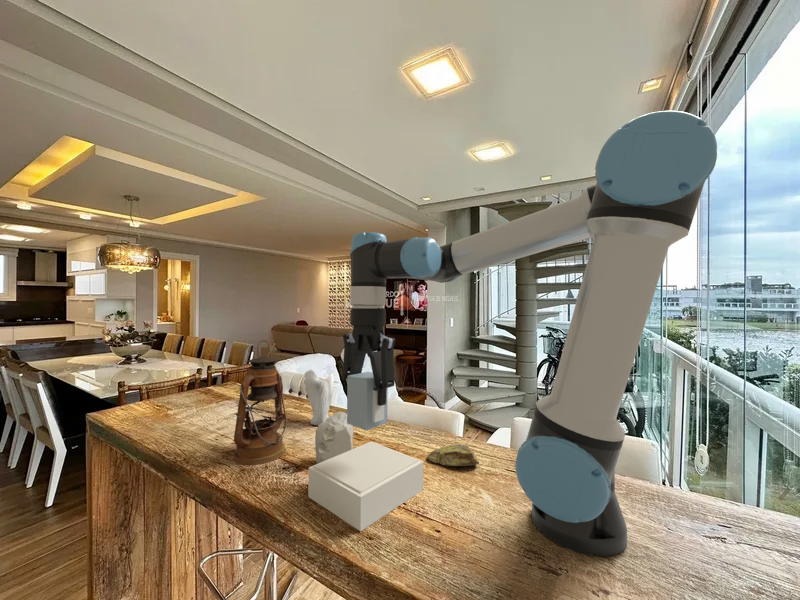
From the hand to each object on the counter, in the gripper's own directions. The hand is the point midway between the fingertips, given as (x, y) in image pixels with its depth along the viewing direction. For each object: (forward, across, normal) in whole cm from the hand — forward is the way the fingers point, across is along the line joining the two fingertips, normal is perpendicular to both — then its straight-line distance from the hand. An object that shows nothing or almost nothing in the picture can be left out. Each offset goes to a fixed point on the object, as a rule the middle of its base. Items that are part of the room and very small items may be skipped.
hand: (367, 416), depth 72 cm
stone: (+16, +17, -5) cm, 24 cm away
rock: (+17, -6, -26) cm, 31 cm away
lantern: (+16, +35, +6) cm, 39 cm away
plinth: (+16, 0, 0) cm, 16 cm away
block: (+1, 0, 0) cm, 1 cm away
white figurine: (+16, +42, -18) cm, 48 cm away
